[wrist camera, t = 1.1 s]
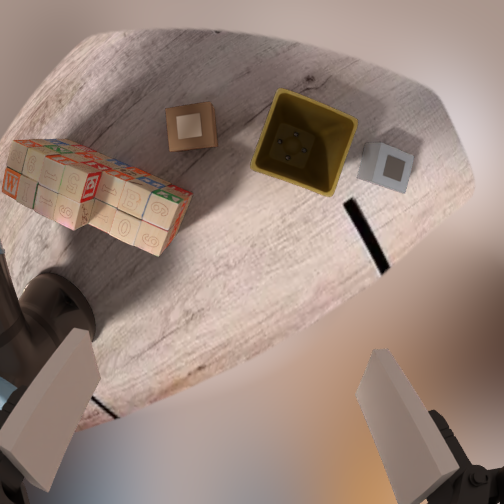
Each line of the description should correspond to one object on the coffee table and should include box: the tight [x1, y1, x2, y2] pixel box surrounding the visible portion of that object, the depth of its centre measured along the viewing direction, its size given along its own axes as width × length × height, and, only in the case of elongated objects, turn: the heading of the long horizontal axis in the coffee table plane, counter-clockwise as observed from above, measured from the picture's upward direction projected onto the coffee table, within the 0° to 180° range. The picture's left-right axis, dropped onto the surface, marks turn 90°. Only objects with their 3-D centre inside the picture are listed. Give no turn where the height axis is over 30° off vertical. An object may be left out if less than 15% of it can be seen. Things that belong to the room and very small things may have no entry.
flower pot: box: [250, 88, 358, 197], centre depth 30 cm, size 9×9×9 cm
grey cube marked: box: [357, 142, 414, 194], centre depth 33 cm, size 5×5×5 cm
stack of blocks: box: [2, 139, 193, 257], centre depth 30 cm, size 21×6×12 cm, turn 64°
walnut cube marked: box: [165, 102, 218, 152], centre depth 31 cm, size 5×5×5 cm
